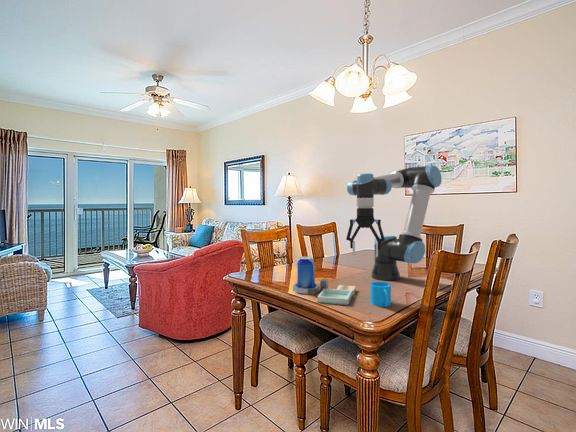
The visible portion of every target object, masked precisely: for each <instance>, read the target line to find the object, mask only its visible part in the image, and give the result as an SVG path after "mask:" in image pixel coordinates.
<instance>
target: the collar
mask: <svg viewBox="0 0 576 432" xmlns="http://www.w3.org/2000/svg"><path fill="white" fill-rule="evenodd" d="M292 291H293V292H294V291H295V293H296V294H303V295H311V294H317V293H319V291H320V283H319V284H318V283H317V282H315V287H313V288H299V287H298V282H295V283H294V284H292Z"/></svg>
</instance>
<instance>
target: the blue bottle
mask: <svg viewBox="0 0 576 432" xmlns="http://www.w3.org/2000/svg"><path fill="white" fill-rule="evenodd" d="M296 264H297V265H296V267H297V276H296V277H297V283H298V287H299V288H313V287H315V283H316V280H315V279H316V276H315V275H316V272H315V271H316V270H315V269H316V268H315V260H314V259H313V256H299V258H298V260H297V263H296Z"/></svg>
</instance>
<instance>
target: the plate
mask: <svg viewBox="0 0 576 432" xmlns="http://www.w3.org/2000/svg"><path fill="white" fill-rule="evenodd" d="M336 289H338V290H351V291H352V296H354V295H355V293H356V291H357V290H356V289H357V287H356V285H342V284H338V286H337V288H336Z"/></svg>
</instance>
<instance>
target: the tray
mask: <svg viewBox="0 0 576 432" xmlns="http://www.w3.org/2000/svg"><path fill="white" fill-rule="evenodd" d="M352 297H353V295H352V291H351V290H338V289H337V288H336V289H335V288H328V289H325V288H324V289H323V290H322V291H320V293H319V294H318V295H317V298H316V299H317V303H320V304H330V305H331V304H332V305H333V304H334V305H343V306H349V304H350V302H351V300H352Z"/></svg>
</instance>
